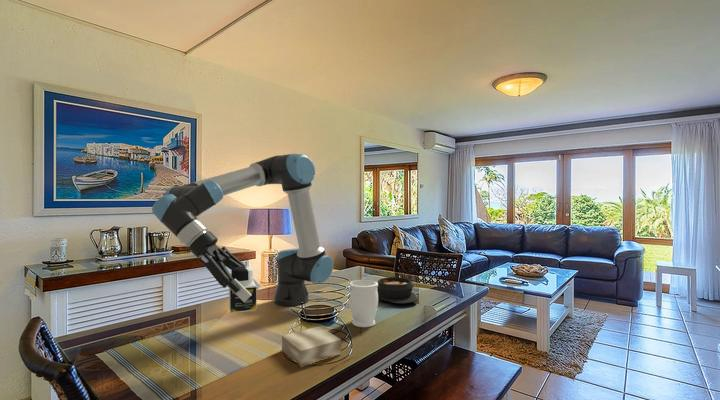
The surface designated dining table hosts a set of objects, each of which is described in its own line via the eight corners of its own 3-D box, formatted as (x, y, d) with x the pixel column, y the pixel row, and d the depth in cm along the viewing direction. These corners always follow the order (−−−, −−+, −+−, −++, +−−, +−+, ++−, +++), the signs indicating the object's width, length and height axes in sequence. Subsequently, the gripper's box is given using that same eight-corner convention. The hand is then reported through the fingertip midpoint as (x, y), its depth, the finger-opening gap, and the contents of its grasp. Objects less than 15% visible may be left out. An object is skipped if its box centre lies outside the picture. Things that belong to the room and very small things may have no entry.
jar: (364, 316, 139) (364, 278, 138) (384, 323, 131) (384, 282, 131) (343, 323, 131) (343, 282, 131) (363, 331, 124) (363, 288, 123)
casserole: (364, 294, 169) (364, 276, 169) (398, 290, 177) (398, 273, 177) (389, 310, 146) (389, 289, 146) (427, 304, 154) (427, 285, 154)
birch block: (319, 341, 116) (319, 326, 116) (341, 356, 106) (341, 339, 106) (282, 351, 109) (281, 335, 109) (301, 368, 98) (301, 350, 98)
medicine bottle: (230, 313, 100) (229, 270, 99) (228, 306, 106) (228, 266, 106) (256, 310, 102) (256, 268, 102) (253, 303, 109) (253, 264, 109)
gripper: (206, 242, 115) (255, 292, 115) (169, 254, 93) (230, 315, 93) (222, 226, 115) (272, 275, 115) (189, 234, 93) (250, 295, 93)
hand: (253, 293), depth 104 cm, fingers closed on medicine bottle, 9 cm apart
